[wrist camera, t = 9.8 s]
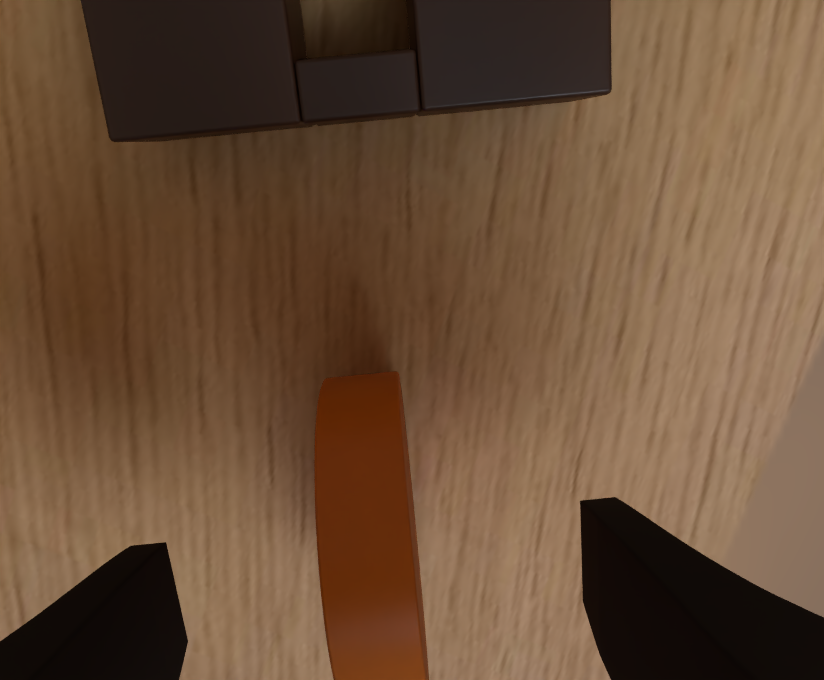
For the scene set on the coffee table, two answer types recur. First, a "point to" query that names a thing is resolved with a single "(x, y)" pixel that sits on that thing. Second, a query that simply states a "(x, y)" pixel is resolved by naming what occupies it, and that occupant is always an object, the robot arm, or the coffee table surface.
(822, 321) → the coffee table surface
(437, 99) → the holder
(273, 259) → the coffee table surface
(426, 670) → the token
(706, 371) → the coffee table surface
